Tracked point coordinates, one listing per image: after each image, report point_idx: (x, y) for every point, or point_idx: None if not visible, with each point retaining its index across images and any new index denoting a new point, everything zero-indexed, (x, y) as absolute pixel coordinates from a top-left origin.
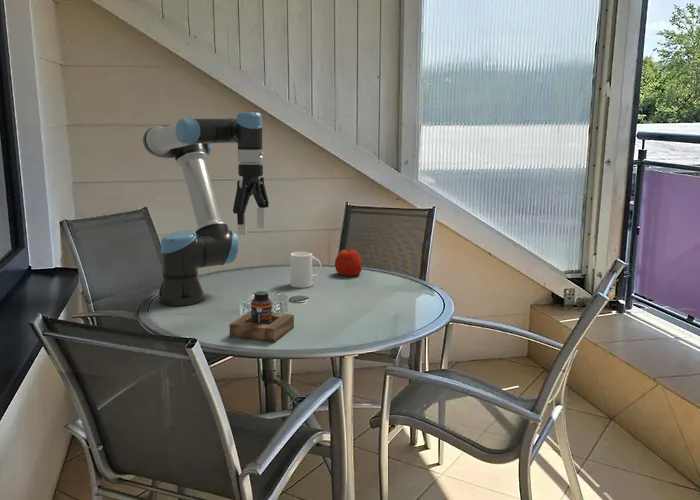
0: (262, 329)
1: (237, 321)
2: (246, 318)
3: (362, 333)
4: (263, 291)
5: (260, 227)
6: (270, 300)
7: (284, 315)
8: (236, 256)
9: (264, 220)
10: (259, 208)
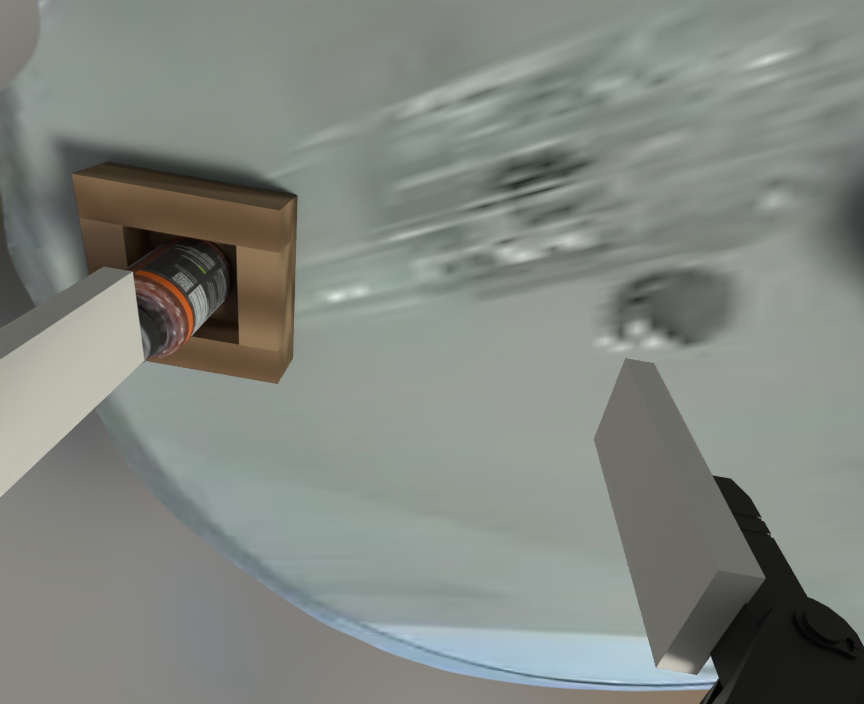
0: None
1: (116, 197)
2: (167, 222)
3: (303, 530)
4: (142, 343)
5: (610, 397)
6: (155, 357)
7: (259, 355)
8: None
9: (611, 502)
10: (688, 599)
